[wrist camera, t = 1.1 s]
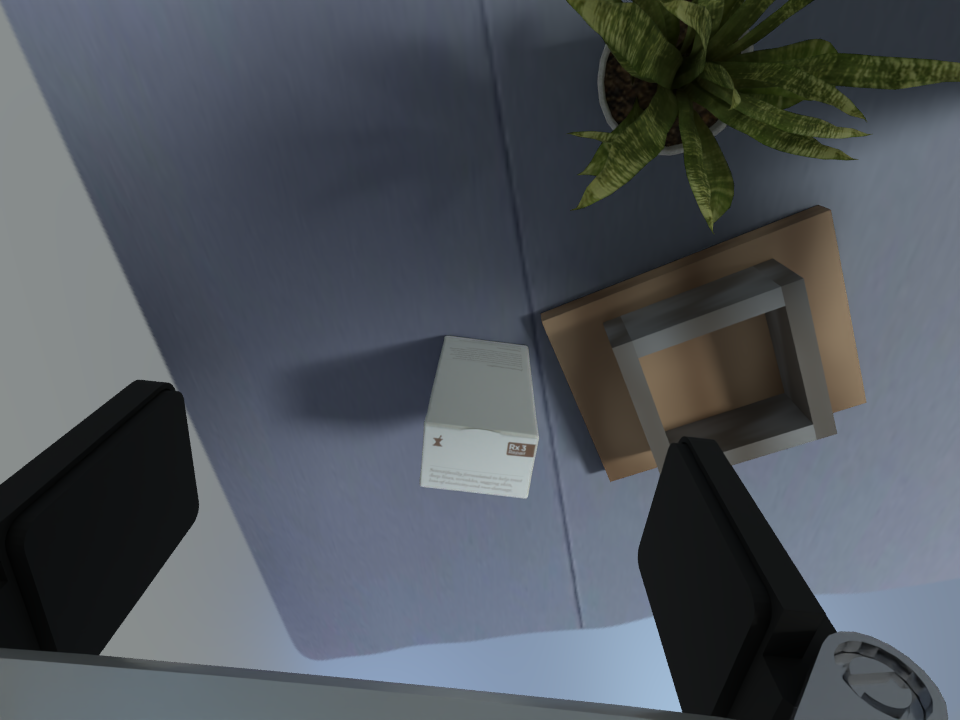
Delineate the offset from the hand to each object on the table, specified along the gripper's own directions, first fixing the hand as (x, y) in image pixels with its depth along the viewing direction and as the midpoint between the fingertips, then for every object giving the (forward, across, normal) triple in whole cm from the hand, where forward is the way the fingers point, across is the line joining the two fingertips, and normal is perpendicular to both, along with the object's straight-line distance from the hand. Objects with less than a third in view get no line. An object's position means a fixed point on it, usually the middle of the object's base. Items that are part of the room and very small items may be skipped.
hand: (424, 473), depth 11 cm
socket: (+27, -16, +8) cm, 32 cm away
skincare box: (+27, -2, +10) cm, 29 cm away
